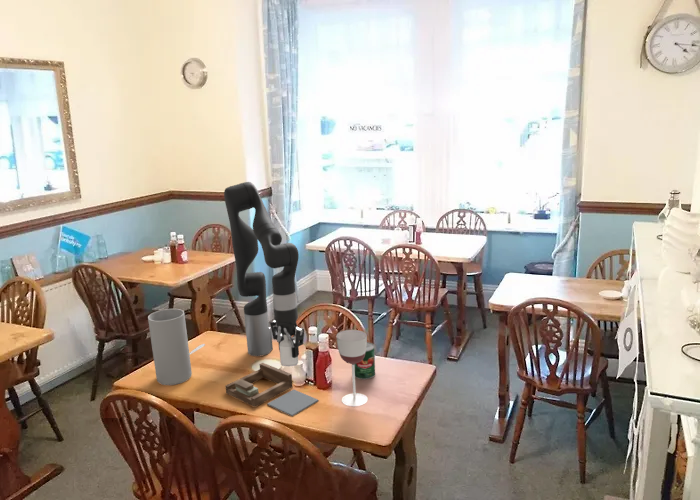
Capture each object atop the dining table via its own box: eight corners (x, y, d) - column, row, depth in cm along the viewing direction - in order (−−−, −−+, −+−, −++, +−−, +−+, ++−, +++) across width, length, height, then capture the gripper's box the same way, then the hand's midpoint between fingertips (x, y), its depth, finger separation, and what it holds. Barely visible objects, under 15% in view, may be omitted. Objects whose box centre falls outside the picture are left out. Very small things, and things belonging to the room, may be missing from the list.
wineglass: (360, 409, 184) (357, 343, 178) (334, 402, 189) (330, 337, 183) (374, 396, 191) (372, 333, 186) (349, 390, 196) (346, 327, 191)
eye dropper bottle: (292, 368, 183) (289, 333, 180) (278, 365, 186) (275, 330, 183) (300, 363, 187) (298, 329, 184) (287, 360, 189) (284, 326, 187)
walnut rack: (263, 375, 210) (262, 362, 209) (292, 387, 200) (291, 374, 199) (225, 393, 198) (224, 380, 197) (254, 407, 188) (253, 393, 187)
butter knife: (208, 344, 240) (202, 343, 241) (165, 373, 216) (159, 371, 217) (208, 345, 240) (202, 344, 241) (165, 374, 216) (159, 373, 217)
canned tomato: (361, 381, 202) (360, 352, 200) (349, 373, 209) (348, 345, 206) (379, 375, 206) (378, 347, 204) (367, 367, 213) (366, 340, 210)
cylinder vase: (150, 379, 211) (141, 316, 205) (180, 367, 220) (172, 306, 214) (168, 389, 203) (159, 324, 197) (198, 376, 212) (190, 313, 205)
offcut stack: (242, 390, 200) (241, 378, 199) (259, 398, 194) (258, 385, 193) (233, 395, 197) (232, 382, 196) (250, 402, 192) (249, 390, 190)
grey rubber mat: (293, 390, 198) (293, 389, 198) (318, 401, 190) (318, 399, 190) (267, 404, 189) (267, 403, 189) (292, 416, 182) (292, 415, 181)
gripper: (309, 306, 179) (312, 356, 184) (278, 298, 189) (282, 345, 193) (292, 313, 174) (295, 364, 178) (261, 304, 183) (265, 353, 187)
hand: (289, 354), depth 185 cm, fingers closed on eye dropper bottle, 5 cm apart
